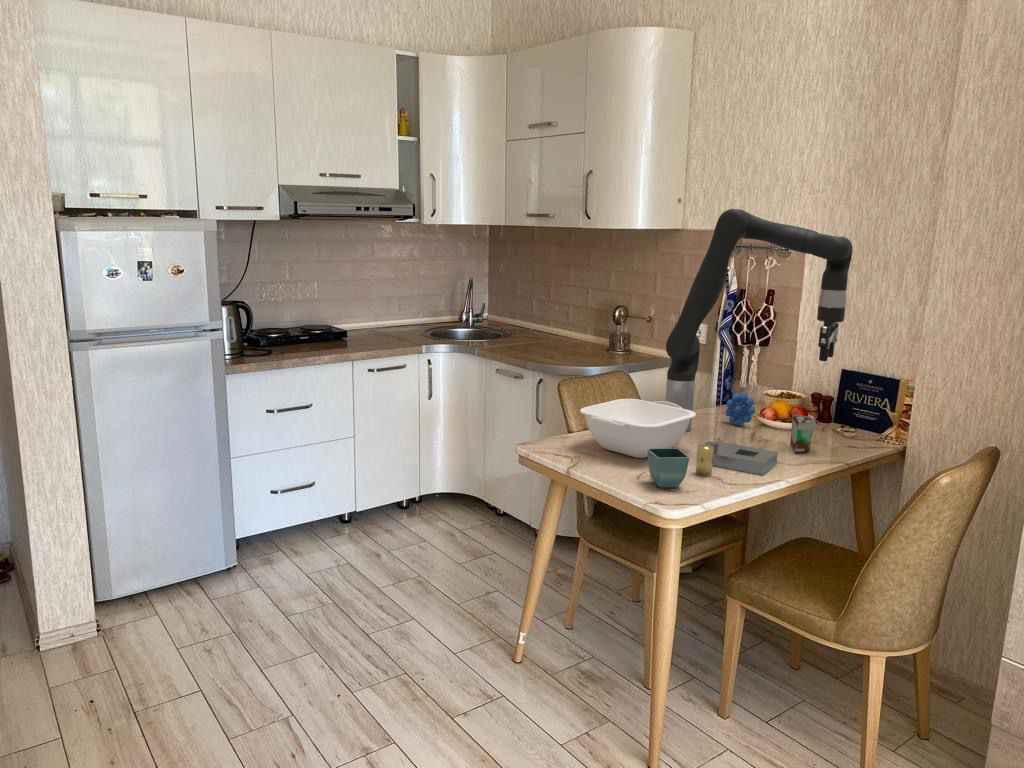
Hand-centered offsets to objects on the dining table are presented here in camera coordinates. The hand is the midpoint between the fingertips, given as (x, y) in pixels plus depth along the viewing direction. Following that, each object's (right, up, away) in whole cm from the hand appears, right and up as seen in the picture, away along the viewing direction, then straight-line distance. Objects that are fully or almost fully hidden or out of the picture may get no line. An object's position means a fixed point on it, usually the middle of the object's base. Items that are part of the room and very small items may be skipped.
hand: (826, 358), depth 234 cm
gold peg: (-41, -33, -17) cm, 55 cm away
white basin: (-57, -28, +4) cm, 63 cm away
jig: (-28, -31, -7) cm, 42 cm away
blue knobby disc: (-15, -22, +36) cm, 45 cm away
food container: (-4, -28, +8) cm, 30 cm away
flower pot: (-54, -35, -27) cm, 69 cm away
